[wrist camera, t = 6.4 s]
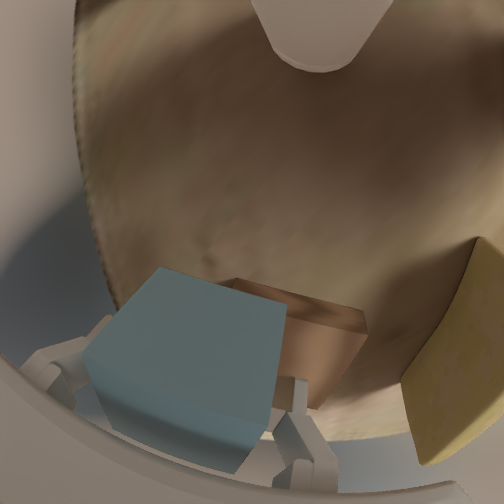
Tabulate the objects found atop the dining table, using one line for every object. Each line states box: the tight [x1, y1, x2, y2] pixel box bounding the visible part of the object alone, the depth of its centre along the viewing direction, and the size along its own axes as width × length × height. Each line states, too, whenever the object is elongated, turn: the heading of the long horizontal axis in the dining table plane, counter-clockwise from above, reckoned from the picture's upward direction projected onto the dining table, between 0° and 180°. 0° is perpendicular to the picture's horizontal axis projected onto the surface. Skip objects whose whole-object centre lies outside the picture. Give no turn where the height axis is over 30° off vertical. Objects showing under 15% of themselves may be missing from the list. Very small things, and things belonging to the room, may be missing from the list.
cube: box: [81, 266, 287, 474], centre depth 9 cm, size 5×5×5 cm
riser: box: [232, 278, 368, 410], centre depth 29 cm, size 14×14×4 cm
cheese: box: [400, 237, 504, 465], centre depth 19 cm, size 22×10×15 cm, turn 161°
